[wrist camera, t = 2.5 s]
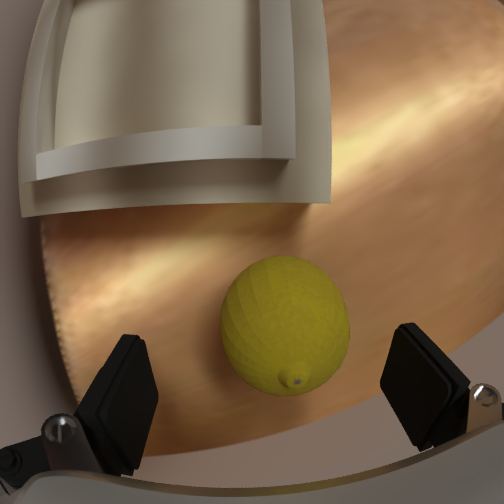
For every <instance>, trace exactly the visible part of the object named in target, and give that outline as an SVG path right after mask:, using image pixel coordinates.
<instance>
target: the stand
mask: <svg viewBox="0 0 504 504" xmlns="http://www.w3.org/2000/svg"><path fill="white" fill-rule="evenodd" d="M18 134H19V135H18V177H19V194H20V205H21V214H22V217H30V216H38V215H47V214H56V213H66V212H76V211H87V210H98V209H111V208H125V207H141V206H159V205H181V204H211V203H326V204H330V203H331V162H332V138H331V98H330V78H329V63H328V50H327V39H326V29H325V20H324V11H323V4H322V0H45V1H44V3H43V6H42V9H41V12H40V15H39V18H38V21H37V25H36V28H35V32H34V35H33V39H32V43H31V47H30V51H29V56H28V61H27V65H26V71H25V77H24V83H23V89H22V97H21V106H20V117H19V133H18Z"/></svg>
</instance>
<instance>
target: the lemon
mask: <svg viewBox="0 0 504 504" xmlns="http://www.w3.org/2000/svg"><path fill="white" fill-rule="evenodd" d="M220 332H221V337H222V342H223V346H224V350H225V354H226V356H227V358H228V360H229V362H230V363H231V365H232V367H233V369H234V370H235V372H236V373H237V374H238V375H239V376H240V377H241V378H242V379H243V380H244V381H245V382H246V383H247V384H249V385H250V386H252V387H254V388H256V389H257V390H259V391H262V392H265V393H268V394H272V395H278V396H292V395H299V394H303V393H306V392H309V391H311V390H313V389H315V388H318V387H319V386H321V385H322V384H324V383H325V382H326V381H328V380H329V379H330V378H331V377H332V375H333V374H334V373H335V372H336V371H337V370H338V369H339V367H340V365H341V363H342V361H343V360H344V358H345V355H346V353H347V349H348V344H349V339H350V326H349V316H348V311H347V307H346V305H345V302H344V300H343V297H342V295H341V293H340V290H339V289H338V287H337V286H336V284H335V283H334V282H333V281H332V280H331V278H330V277H329V276H328V275H327V274H326V273H325V272H324V271H323V270H321V269H320V268H318V267H317V266H315V265H314V264H312V263H311V262H309V261H306V260H303V259H300V258H297V257H293V256H274V257H269V258H265V259H262V260H260V261H258V262H255V263H253V264H252V265H250V266H249V267H248V268H246V269H245V270H244V271H242V272H241V273H240V274H239V275H238V276H237V278H236V279H235V280H234V282H233V283H232V284H231V286H230V287H229V289H228V292H227V294H226V297H225V299H224V302H223V304H222V309H221V319H220Z"/></svg>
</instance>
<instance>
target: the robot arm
mask: <svg viewBox="0 0 504 504" xmlns="http://www.w3.org/2000/svg"><path fill="white" fill-rule="evenodd" d="M469 384H470V381H469V379H468V378H467V377H466V376H465V375H464V374H463V373H462V372H461V371H460V369H459V368H458V367H457V366H456V365H455V364H454V363H453V362H452V361H451V360H450V359H449V358H448V357H447V356H446V355H445V353H444V352H443V351H442V350H441V349H440V348H439V347H438V346H437V345H436V344H435V343H434V342H433V341H432V340H431V339H430V338H429V337H428V336H427V335H426V334H425V333H424V332H423V331H422V330H421V329H420V328H419V327H418V326H417V325H416V324H415V323H405V324H401V325H399V327H398V328H397V329H396V330H395V332H394V336H393V339H392V343H391V347H390V350H389V354H388V357H387V360H386V364H385V367H384V370H383V373H382V376H381V379H380V387H381V389H382V391H383V393H384V394H385V396H386V398H387V400H388V401H389V403H390V405H391V407H392V408H393V410H394V412H395V414H396V415H397V417H398V419H399V421H400V422H401V424H402V426H403V428H404V430H405V432H406V433H407V435H408V437H409V439H410V441H411V442H412V444H413V445H414V446H417V448H418V450H419V451H420V452H421V451H424V450H426V449H429V448H431V447H432V445H433V446H434V448H432V449H430V450H428V451H425V452H423V453H420V454H418V455H415V456H412V457H409V458H407V459H404V460H401V461H398V462H395V463H392V464H389V465H385V466H382V467H379V468H375V469H372V470H368V471H364V472H360V473H356V474H352V475H348V476H343V477H338V478H333V479H328V480H322V481H316V482H310V483H303V484H295V485H285V486H274V487H258V488H207V487H191V486H181V485H171V484H163V483H155V482H148V481H142V480H137V479H131V478H125V477H121V474H124V475H129V476H133V471H134V469H136V470H137V469H138V468H139V466H140V463H141V459H142V455H143V451H144V448H145V444H146V440H147V437H148V433H149V430H150V426H151V423H152V419H153V416H154V413H155V409H156V406H157V403H158V391H157V387H156V384H155V380H154V376H153V373H152V369H151V365H150V361H149V357H148V353H147V349H146V344H145V341H144V340H143V339H140V337H139V336H138V335H128V334H123V335H122V337H121V338H120V340H119V341H118V343H117V345H116V346H115V348H114V349H113V351H112V353H111V354H110V356H109V357H108V359H107V361H106V362H105V364H104V366H103V367H102V368H101V369H100V370H99V372H98V373H97V375H96V377H95V378H94V380H93V382H92V384H91V385H90V387H89V389H88V390H87V392H86V394H85V396H84V397H83V399H82V401H81V403H80V404H79V406H78V408H77V410H76V412H75V413H74V415H71V414H68V413H58V414H54V415H52V416H50V417H49V418H48V419H46V420H45V422H44V423H43V425H42V428H41V436H38V437H35V438H32V439H29V440H26V441H23V442H20V443H17V444H13V445H10V446H7V447H4V448H2V449H0V504H504V403H502V402H501V396H500V394H499V392H498V390H497V389H495V388H494V387H493V386H491V385H488V384H482V383H481V384H476V385H475V386H473V387H472V388H471V390H470V389H469V388H468V386H469Z"/></svg>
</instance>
